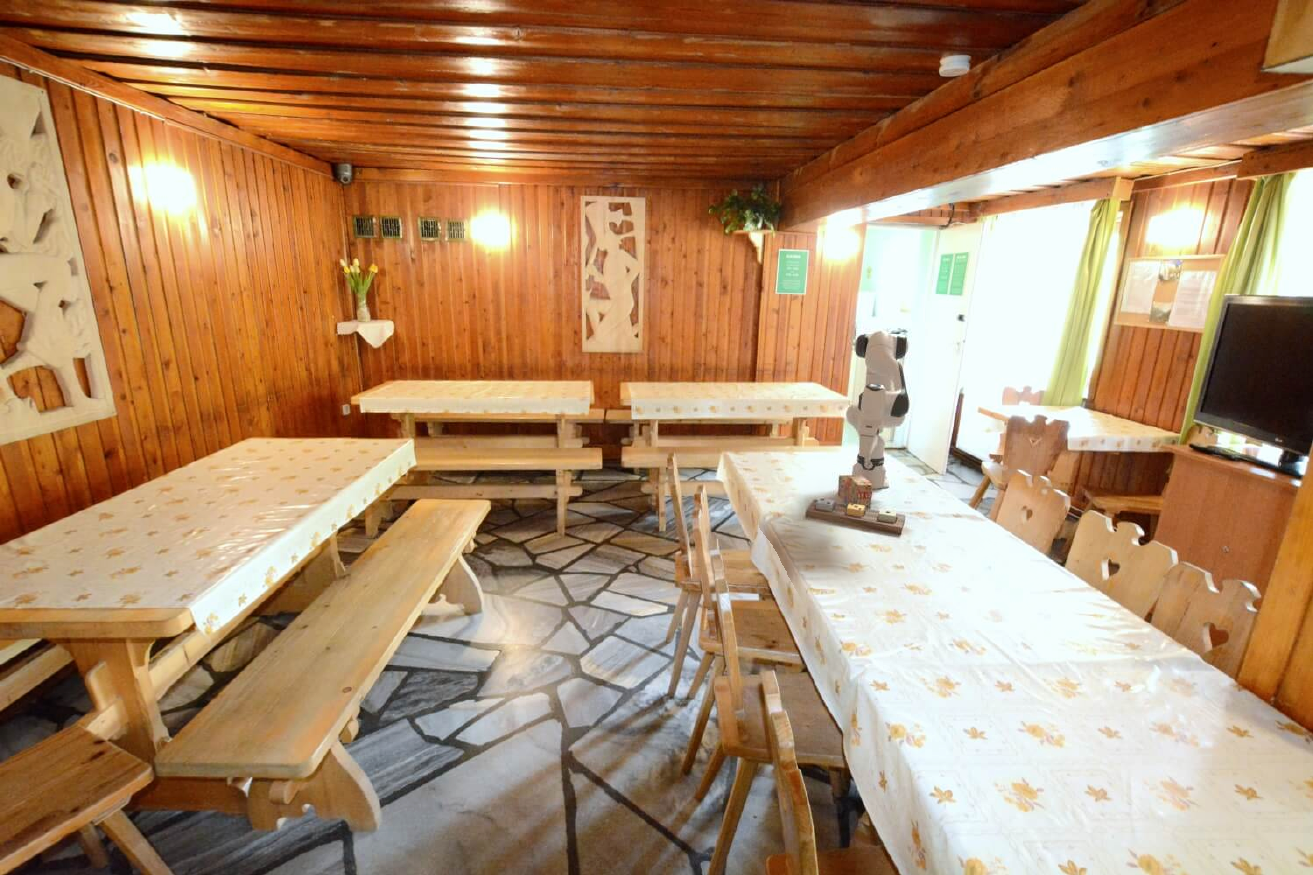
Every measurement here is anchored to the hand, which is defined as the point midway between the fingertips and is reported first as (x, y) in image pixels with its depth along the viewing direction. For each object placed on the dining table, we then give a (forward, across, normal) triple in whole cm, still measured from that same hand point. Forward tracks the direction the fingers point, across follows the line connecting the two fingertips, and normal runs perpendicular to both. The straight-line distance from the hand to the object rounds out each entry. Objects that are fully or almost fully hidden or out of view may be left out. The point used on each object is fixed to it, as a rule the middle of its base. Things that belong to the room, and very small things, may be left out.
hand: (867, 461), depth 226 cm
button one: (+23, 0, +10) cm, 25 cm away
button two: (+23, 0, -14) cm, 27 cm away
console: (+25, 0, -2) cm, 25 cm away
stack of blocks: (+25, -20, -6) cm, 33 cm away
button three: (+23, 0, -2) cm, 24 cm away
